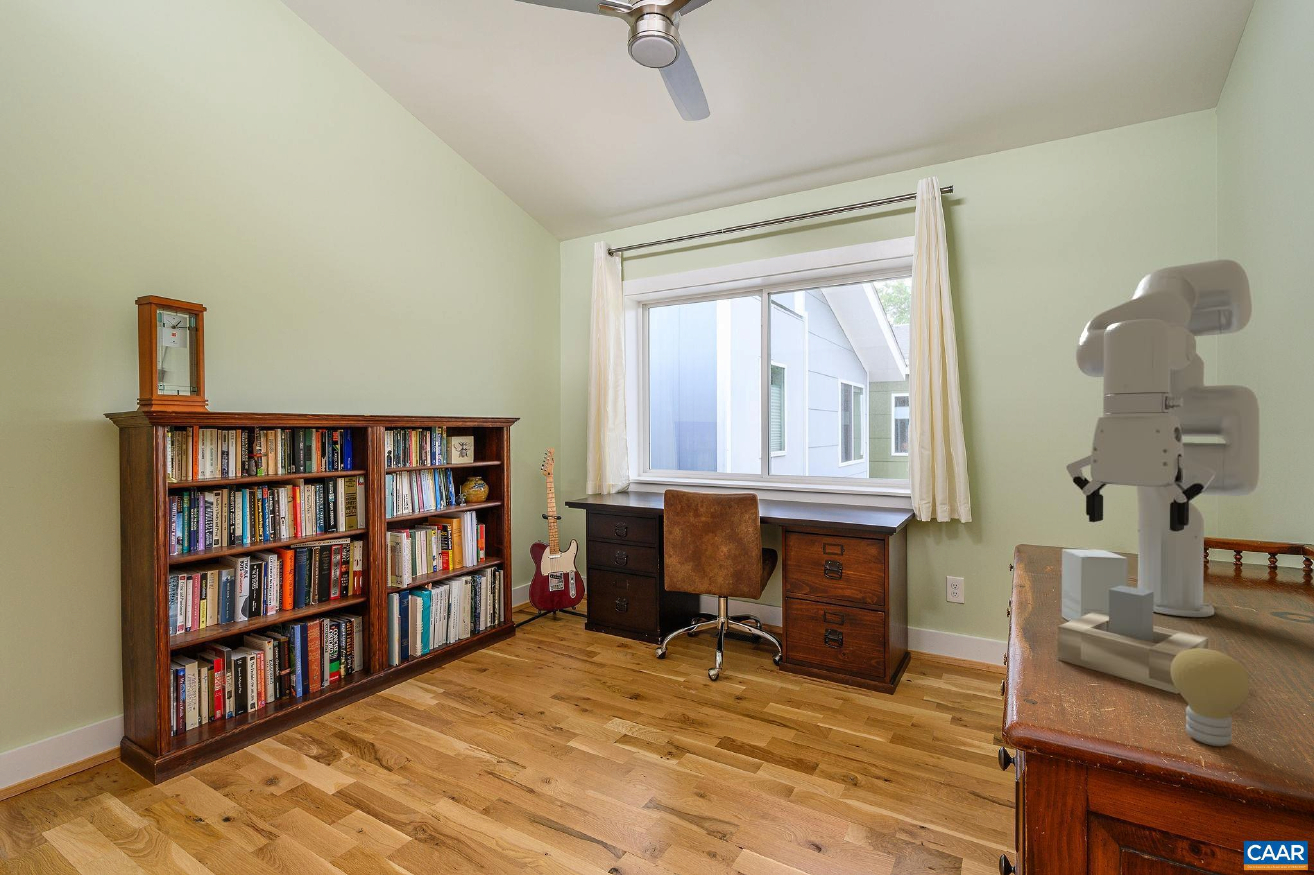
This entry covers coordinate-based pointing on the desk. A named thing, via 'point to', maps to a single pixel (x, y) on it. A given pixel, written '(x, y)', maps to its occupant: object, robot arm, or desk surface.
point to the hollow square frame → (1124, 650)
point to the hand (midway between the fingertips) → (1134, 525)
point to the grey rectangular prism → (1131, 612)
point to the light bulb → (1209, 692)
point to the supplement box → (1090, 581)
